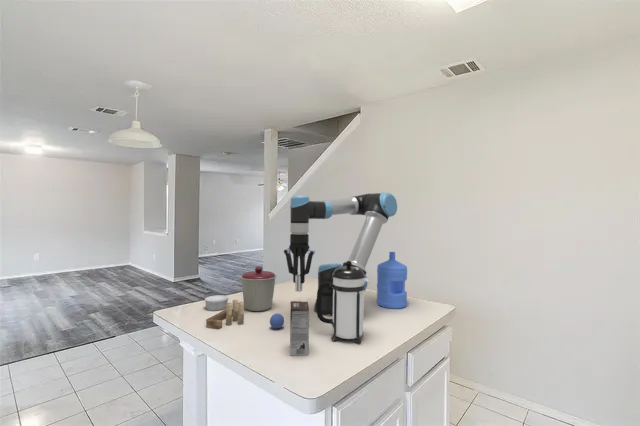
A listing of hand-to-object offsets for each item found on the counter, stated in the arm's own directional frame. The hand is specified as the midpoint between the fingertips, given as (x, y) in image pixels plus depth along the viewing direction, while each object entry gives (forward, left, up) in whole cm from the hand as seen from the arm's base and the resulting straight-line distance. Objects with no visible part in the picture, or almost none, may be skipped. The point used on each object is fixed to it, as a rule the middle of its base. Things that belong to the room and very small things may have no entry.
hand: (298, 290), depth 130 cm
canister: (+30, -22, -17) cm, 40 cm away
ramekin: (+50, -16, -17) cm, 55 cm away
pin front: (+27, 0, -16) cm, 31 cm away
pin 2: (+31, -2, -16) cm, 35 cm away
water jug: (-34, -50, -17) cm, 63 cm away
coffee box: (-6, +17, -17) cm, 25 cm away
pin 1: (+31, +2, -16) cm, 35 cm away
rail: (+35, 0, -16) cm, 39 cm away
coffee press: (-19, +1, -17) cm, 26 cm away
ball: (+10, 0, -13) cm, 16 cm away
